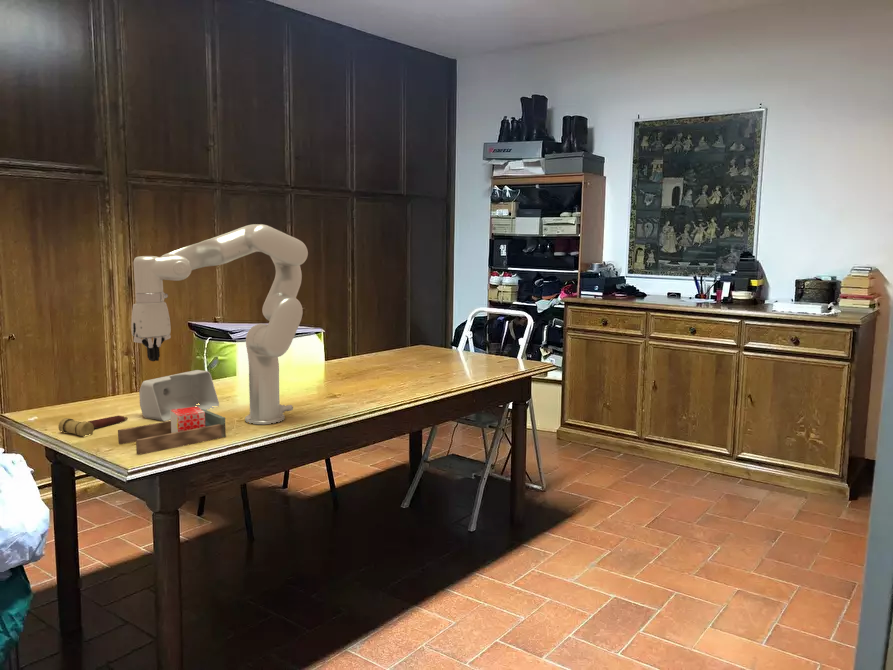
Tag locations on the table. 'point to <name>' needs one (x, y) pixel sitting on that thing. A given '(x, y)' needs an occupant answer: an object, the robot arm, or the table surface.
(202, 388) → the grey open box shell
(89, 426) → the gavel
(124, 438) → the crate bay
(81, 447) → the table surface
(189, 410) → the red patterned cube
